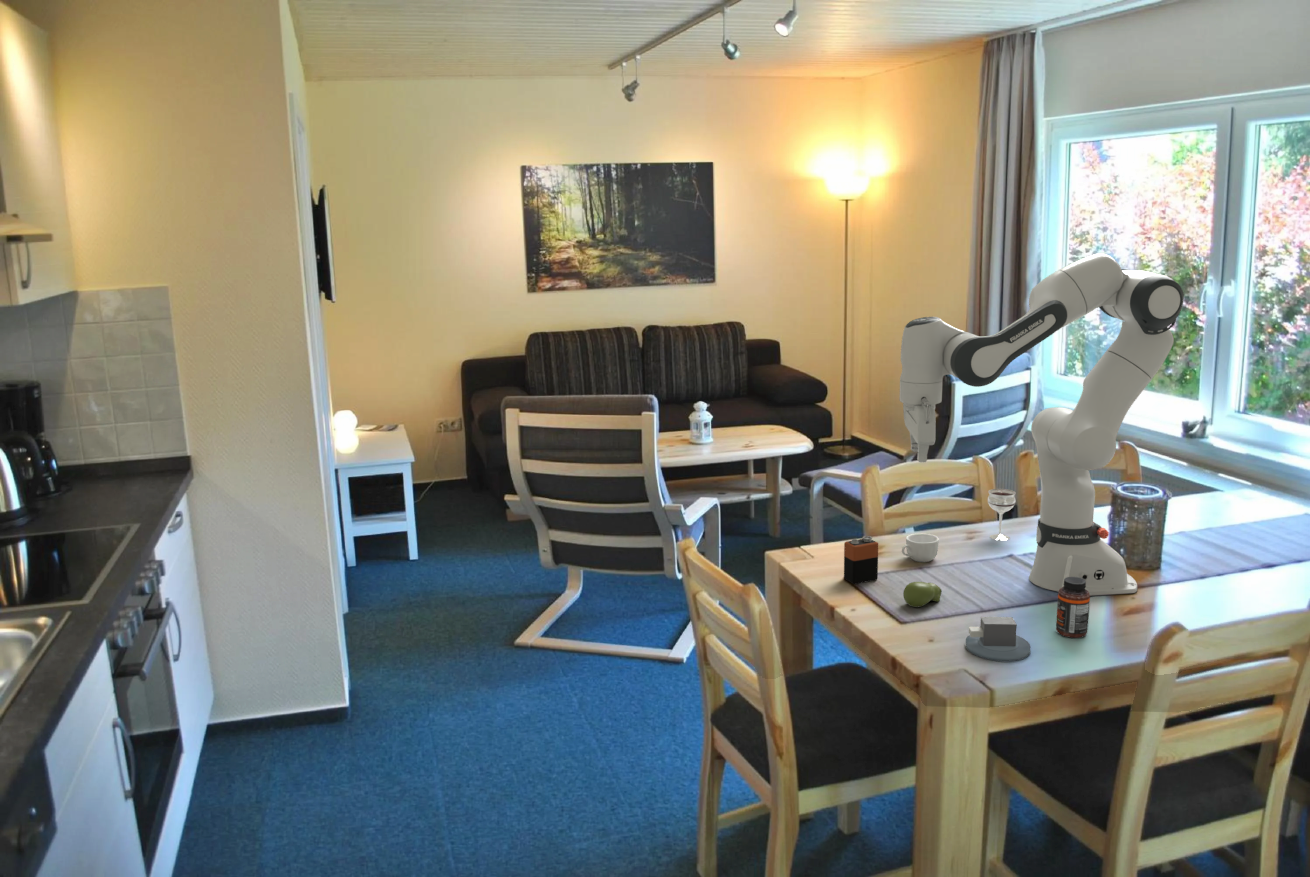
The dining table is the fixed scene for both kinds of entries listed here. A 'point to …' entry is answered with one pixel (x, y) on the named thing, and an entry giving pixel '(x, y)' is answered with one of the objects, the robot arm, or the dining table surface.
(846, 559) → the battery
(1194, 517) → the dining table surface
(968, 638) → the plate
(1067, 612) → the supplement bottle
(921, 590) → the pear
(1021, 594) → the dining table surface
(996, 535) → the wineglass
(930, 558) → the teacup
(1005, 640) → the block
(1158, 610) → the dining table surface
